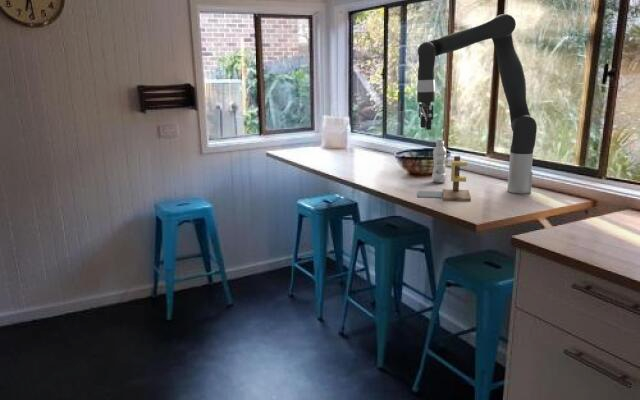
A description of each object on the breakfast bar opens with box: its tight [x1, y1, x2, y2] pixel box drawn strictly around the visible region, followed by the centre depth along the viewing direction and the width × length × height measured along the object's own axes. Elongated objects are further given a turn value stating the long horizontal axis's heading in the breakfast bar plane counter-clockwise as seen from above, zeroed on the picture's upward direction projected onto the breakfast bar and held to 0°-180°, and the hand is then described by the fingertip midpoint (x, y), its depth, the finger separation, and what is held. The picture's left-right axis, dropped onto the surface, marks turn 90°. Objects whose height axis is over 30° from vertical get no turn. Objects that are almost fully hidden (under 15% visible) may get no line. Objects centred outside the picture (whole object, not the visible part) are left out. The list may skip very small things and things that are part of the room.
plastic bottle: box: [431, 140, 447, 184], centre depth 240 cm, size 6×7×20 cm
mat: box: [417, 190, 443, 199], centre depth 220 cm, size 10×10×1 cm
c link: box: [450, 160, 468, 183], centre depth 213 cm, size 6×4×8 cm, turn 78°
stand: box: [442, 155, 472, 202], centre depth 214 cm, size 11×15×16 cm
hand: (425, 128), depth 221 cm, fingers open, 8 cm apart
